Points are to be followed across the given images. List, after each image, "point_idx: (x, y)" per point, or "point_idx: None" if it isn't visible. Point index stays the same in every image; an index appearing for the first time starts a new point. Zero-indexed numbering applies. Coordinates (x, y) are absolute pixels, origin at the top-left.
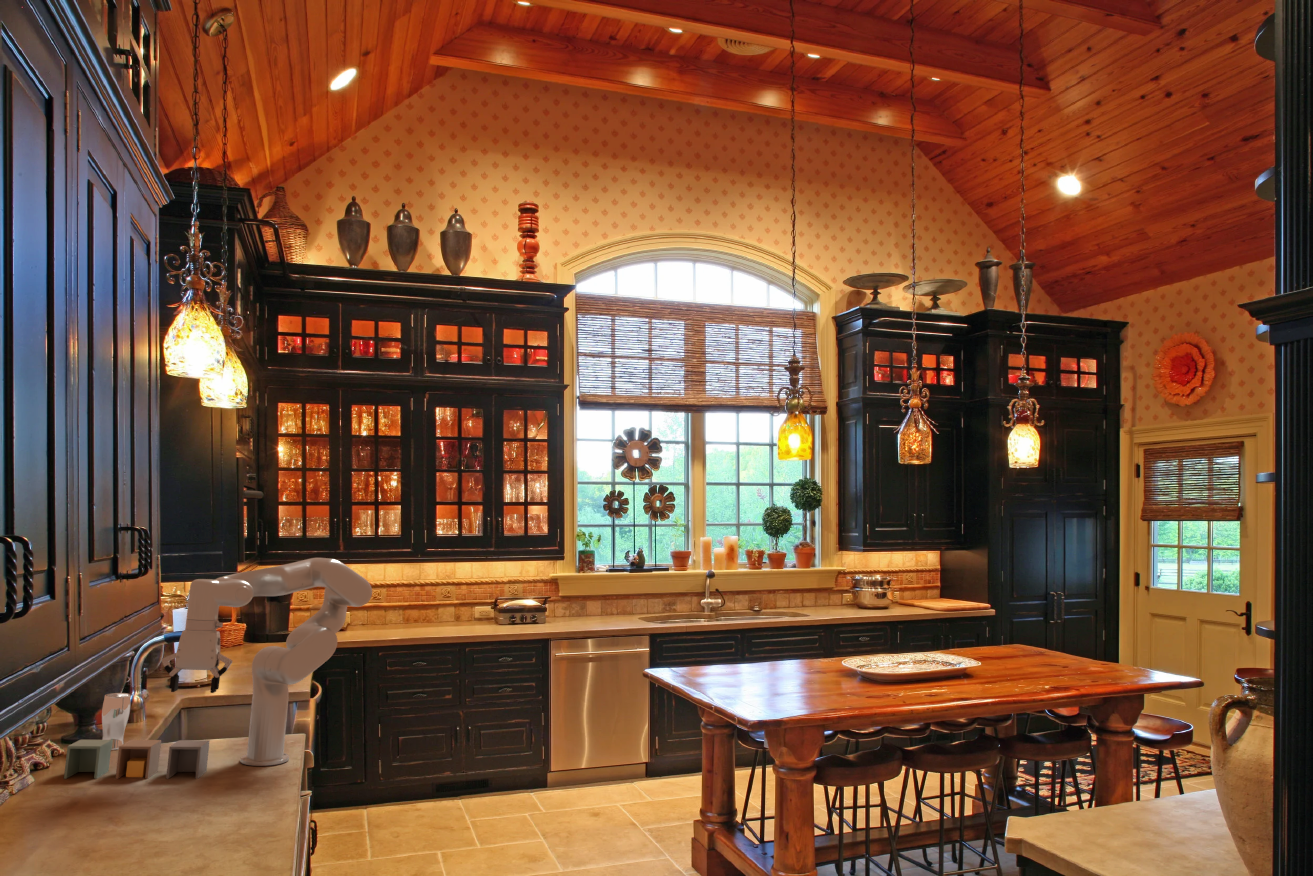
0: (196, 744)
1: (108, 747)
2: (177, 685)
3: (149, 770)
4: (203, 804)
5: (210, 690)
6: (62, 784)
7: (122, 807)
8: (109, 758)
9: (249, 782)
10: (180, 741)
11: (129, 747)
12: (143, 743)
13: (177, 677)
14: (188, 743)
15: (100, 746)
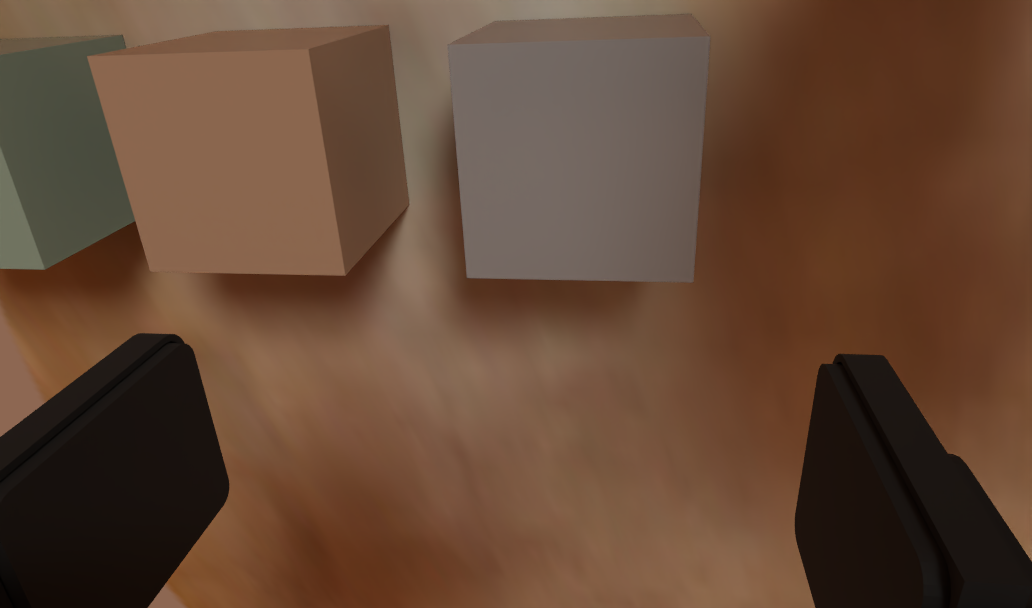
0: (638, 203)
1: (24, 111)
2: (147, 419)
3: (394, 200)
4: (802, 604)
5: (802, 559)
6: (92, 296)
7: (503, 603)
8: (70, 54)
9: (1003, 285)
10: (477, 97)
11: (215, 270)
12: (246, 180)
13: (50, 589)
14: (565, 172)
15: (45, 266)
